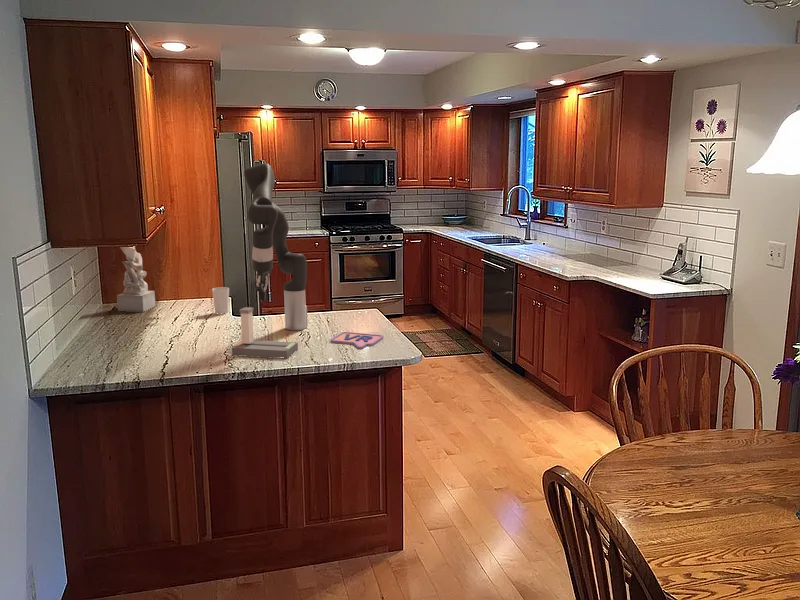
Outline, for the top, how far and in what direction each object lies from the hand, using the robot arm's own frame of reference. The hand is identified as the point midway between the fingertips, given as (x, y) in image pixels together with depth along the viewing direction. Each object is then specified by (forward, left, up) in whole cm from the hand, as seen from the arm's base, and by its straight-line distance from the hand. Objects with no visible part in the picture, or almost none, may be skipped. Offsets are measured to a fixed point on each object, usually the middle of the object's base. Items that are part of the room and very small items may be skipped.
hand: (262, 299), depth 255 cm
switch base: (+1, +2, -20) cm, 21 cm away
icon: (-30, +22, -21) cm, 43 cm away
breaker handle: (+4, -5, -17) cm, 18 cm away
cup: (-40, -63, -21) cm, 78 cm away
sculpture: (-25, -106, -21) cm, 111 cm away
